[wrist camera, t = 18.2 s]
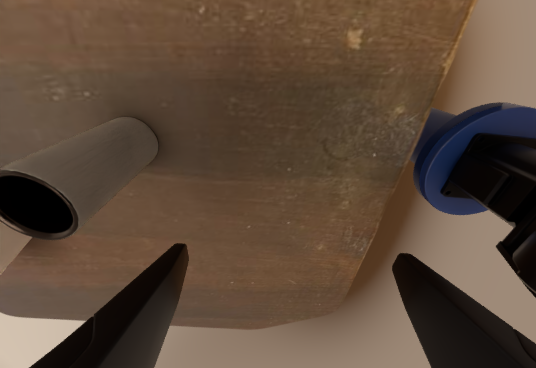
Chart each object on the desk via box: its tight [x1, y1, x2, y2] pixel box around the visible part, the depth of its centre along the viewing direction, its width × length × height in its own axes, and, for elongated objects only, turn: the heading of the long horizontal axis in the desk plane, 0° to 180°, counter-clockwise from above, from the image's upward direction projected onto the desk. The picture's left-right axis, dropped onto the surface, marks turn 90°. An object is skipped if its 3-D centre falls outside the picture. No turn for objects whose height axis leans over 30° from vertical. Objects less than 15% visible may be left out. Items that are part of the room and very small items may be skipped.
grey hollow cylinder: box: [0, 117, 158, 240], centre depth 16 cm, size 4×4×10 cm
